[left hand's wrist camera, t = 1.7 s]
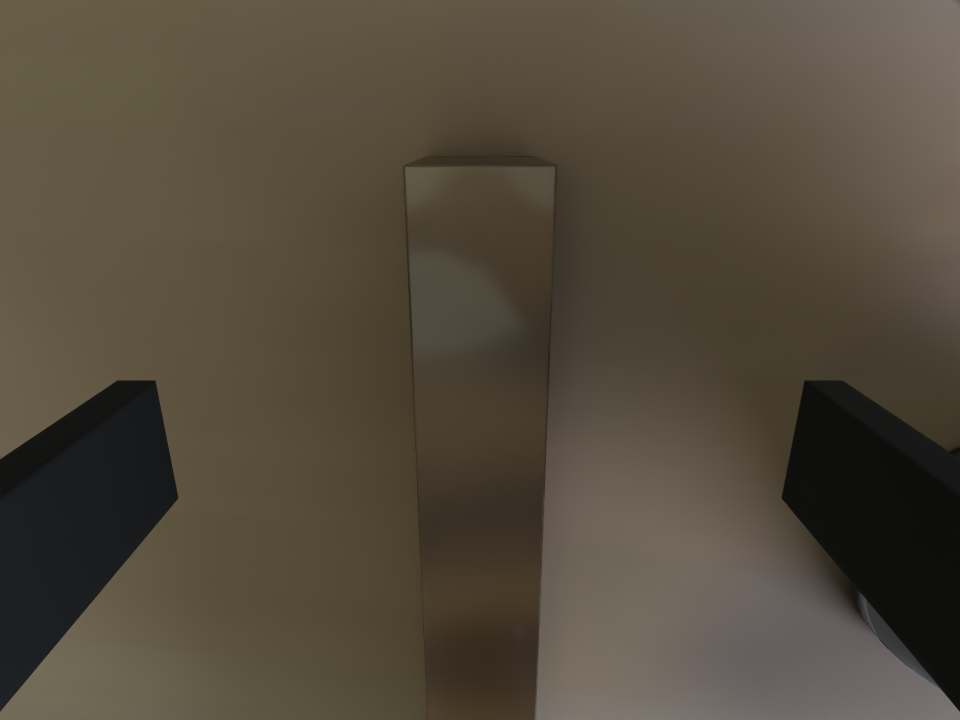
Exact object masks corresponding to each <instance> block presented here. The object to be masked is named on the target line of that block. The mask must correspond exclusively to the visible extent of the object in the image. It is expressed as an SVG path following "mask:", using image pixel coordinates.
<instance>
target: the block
mask: <svg viewBox="0 0 960 720" xmlns="http://www.w3.org/2000/svg"><path fill="white" fill-rule="evenodd" d="M403 173H404V196H405V218H406V241H407V264H408V286H409V309H410V332H411V354H412V377H413V400H414V423H415V445H416V468H417V491H418V513H419V536H420V559H421V581H422V604H423V627H424V649H425V672H426V695H427V718H428V720H536V699H537V673H538V647H539V622H540V596H541V570H542V544H543V518H544V492H545V466H546V440H547V415H548V389H549V363H550V337H551V311H552V285H553V259H554V233H555V207H556V182H557V166H556V165H555V164H553V163H550V162H547V161H545V160H542V159H540V158H537V157H534V156H458V157H424V158H421V159H419V160H416V161H414V162H411V163H409V164H406V165H404V167H403Z"/></svg>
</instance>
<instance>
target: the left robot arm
mask: <svg viewBox="0 0 960 720" xmlns="http://www.w3.org/2000/svg"><path fill="white" fill-rule="evenodd" d="M177 499H178V494H177V489H176V484H175V479H174V473H173V468H172V463H171V458H170V453H169V448H168V443H167V438H166V433H165V427H164V422H163V417H162V412H161V407H160V402H159V397H158V392H157V387H156V382H155V381H116V382H115V383H113V384H112V385H110V386H109V387H107V388H106V389H104V390H103V391H101V392H100V393H98V394H97V395H95V396H94V397H92V398H91V399H89V400H88V401H86V402H85V403H83V404H82V405H80V406H79V407H77V408H76V409H74V410H73V411H71V412H70V413H68V414H67V415H65V416H64V417H63V418H61V419H60V420H58V421H57V422H55V423H54V424H52V425H51V426H49V427H48V428H46V429H45V430H43V431H42V432H40V433H39V434H37V435H36V436H34V437H33V438H31V439H30V440H28V441H27V442H25V443H24V444H22V445H21V446H19V447H18V448H16V449H15V450H13V451H12V452H10V453H9V454H7V455H6V456H4V457H3V458H1V459H0V711H1V710H2V709H3V708H4V706H5V705H6V704H7V703H8V702H9V700H10V699H11V698H12V697H13V696H14V694H15V693H16V692H17V691H18V690H19V688H20V687H21V686H22V685H23V684H24V682H25V681H26V680H27V679H28V678H29V676H30V675H31V674H32V673H33V672H34V670H35V669H36V668H37V667H38V666H39V664H40V663H41V662H42V661H43V660H44V658H45V657H46V656H47V655H48V654H49V652H50V651H51V650H52V649H53V648H54V647H55V645H56V644H57V643H58V642H59V641H60V639H61V638H62V637H63V636H64V635H65V633H66V632H67V631H68V630H69V629H70V627H71V626H72V625H73V624H74V623H75V621H76V620H77V619H78V618H79V617H80V615H81V614H82V613H83V612H84V611H85V609H86V608H87V607H88V606H89V605H90V603H91V602H92V601H93V600H94V599H95V597H96V596H97V595H98V594H99V593H100V591H101V590H102V589H103V588H104V587H105V585H106V584H107V583H108V582H109V581H110V579H111V578H112V577H113V576H114V575H115V573H116V572H117V571H118V570H119V569H120V567H121V566H122V565H123V564H124V563H125V561H126V560H127V559H128V558H129V557H130V556H131V554H132V553H133V552H134V551H135V550H136V548H137V547H138V546H139V545H140V544H141V542H142V541H143V540H144V539H145V538H146V536H147V535H148V534H149V533H150V532H151V530H152V529H153V528H154V527H155V526H156V524H157V523H158V522H159V521H160V520H161V518H162V517H163V516H164V515H165V514H166V512H167V511H168V510H169V509H170V508H171V506H172V505H173V504H174V503H175V502H176V500H177ZM782 499H783V500H784V502H785V503H786V504H787V505H788V506H789V508H790V509H791V510H792V511H793V512H794V514H795V515H796V516H797V517H798V518H799V520H800V521H801V522H802V523H803V524H804V526H805V527H806V528H807V529H808V530H809V532H810V533H811V534H812V535H813V536H814V538H815V539H816V540H817V541H818V542H819V544H820V545H821V546H822V547H823V548H824V550H825V551H826V552H827V553H828V554H829V556H830V557H831V558H832V559H833V560H834V561H835V563H836V564H837V565H838V566H839V567H840V569H841V570H842V571H843V572H844V573H845V575H846V576H847V577H848V578H849V579H850V581H851V582H852V583H853V592H854V596H855V601H856V603H857V606H858V609H859V611H860V613H861V615H862V617H863V619H864V620H865V621H866V623H867V624H868V625H869V627H870V628H871V629H872V631H873V632H874V633H875V634H876V636H877V637H878V638H879V639H880V641H881V642H882V643H883V644H884V645H885V646H886V647H887V648H888V649H889V650H890V651H891V652H892V653H893V654H894V655H895V656H896V657H897V658H898V659H899V660H901V661H902V662H903V663H904V664H905V665H906V666H908V667H909V668H910V669H912V670H913V671H915V672H916V673H918V674H919V675H921V676H922V677H923V678H925V679H926V680H928V681H929V682H931V683H932V684H934V685H935V686H937V687H938V688H939V689H941V690H942V691H943V692H944V693H945V694H946V696H947V697H948V698H949V699H950V700H951V702H952V703H953V704H954V705H955V706H956V708H957V709H958V710H959V711H960V451H958V452H956V453H953V454H951V453H950V452H948V451H947V450H945V449H944V448H942V447H941V446H939V445H938V444H936V443H935V442H933V441H932V440H930V439H929V438H927V437H926V436H924V435H923V434H921V433H920V432H918V431H917V430H915V429H914V428H912V427H911V426H909V425H908V424H906V423H905V422H903V421H902V420H900V419H899V418H897V417H896V416H895V415H893V414H892V413H890V412H889V411H887V410H886V409H884V408H883V407H881V406H880V405H878V404H877V403H875V402H874V401H872V400H871V399H869V398H868V397H866V396H865V395H863V394H862V393H860V392H859V391H857V390H856V389H854V388H853V387H851V386H850V385H848V384H847V383H845V382H844V381H804V387H803V392H802V397H801V402H800V407H799V412H798V417H797V422H796V427H795V433H794V438H793V443H792V448H791V453H790V458H789V463H788V468H787V473H786V478H785V484H784V489H783V494H782Z"/></svg>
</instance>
